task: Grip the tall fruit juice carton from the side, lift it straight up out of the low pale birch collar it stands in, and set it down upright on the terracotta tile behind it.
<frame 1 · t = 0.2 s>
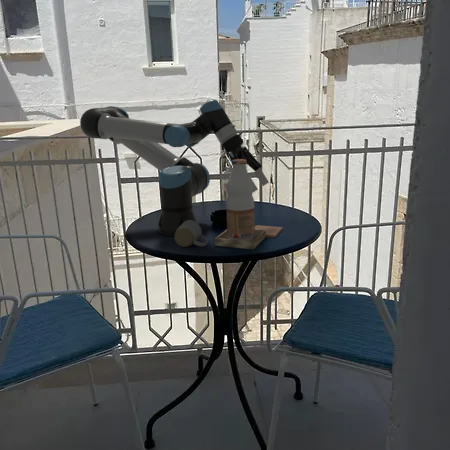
hand: (260, 187, 169), 15 cm above the table, tool tilted 35°, fingers open, 13 cm apart
ceramic mug: (192, 245, 156), on the table
fruit juice: (241, 241, 158), resting in birch collar
terracotta tile: (265, 232, 166), on the table
birch collar: (241, 241, 157), on the table
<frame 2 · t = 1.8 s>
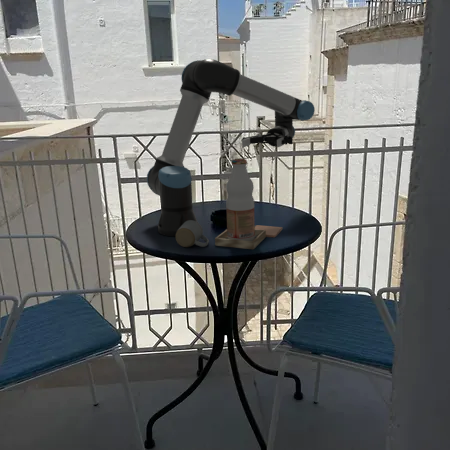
hand: (260, 143, 169), 31 cm above the table, tool horizontal, fingers open, 13 cm apart
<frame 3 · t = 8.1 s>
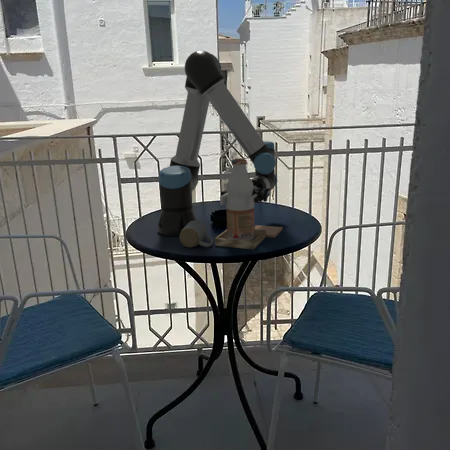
hand: (235, 201, 149), 15 cm above the table, tool horizontal, fingers closed on fruit juice, 9 cm apart
ceramic mug: (197, 245, 155), on the table
fruit juice: (241, 241, 158), resting in birch collar, touching gripper
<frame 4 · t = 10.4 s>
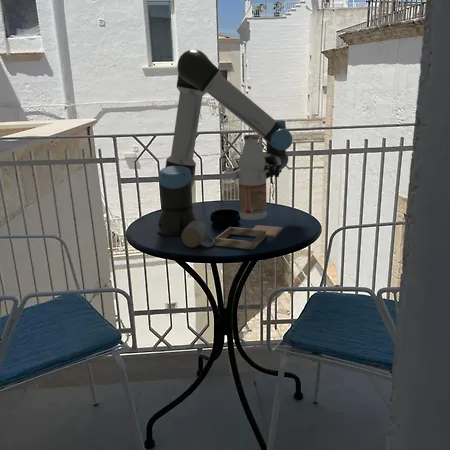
hand: (247, 176, 150), 23 cm above the table, tool horizontal, fingers closed on fruit juice, 9 cm apart
fruit juice: (253, 217, 159), point 7 cm above the table, touching gripper
when the fingers open (17 cm above the table, at t = 12.9 s): fruit juice stays where it is, resting on terracotta tile.
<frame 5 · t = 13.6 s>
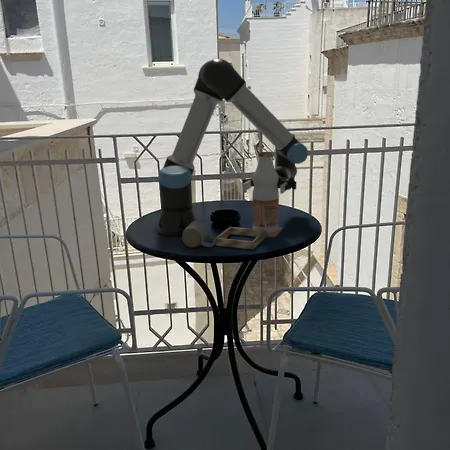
hand: (262, 188, 158), 17 cm above the table, tool horizontal, fingers open, 13 cm apart
fruit juice: (265, 230, 166), point 1 cm above the table, touching terracotta tile
everything else where it was.
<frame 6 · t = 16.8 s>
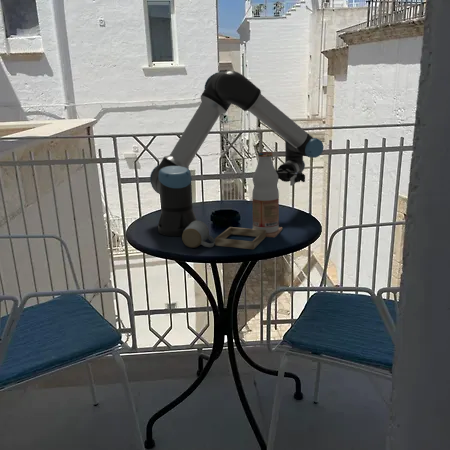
hand: (273, 181, 170), 17 cm above the table, tool horizontal, fingers open, 13 cm apart
nothing on the table moved.
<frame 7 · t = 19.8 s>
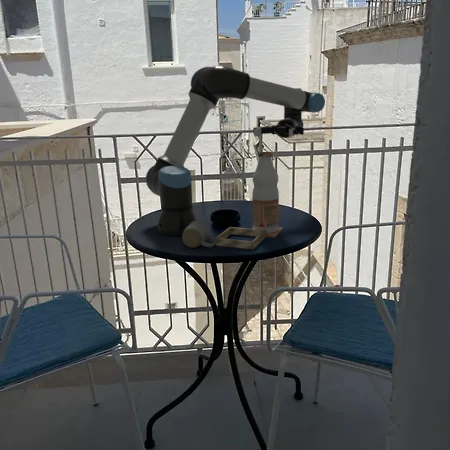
hand: (272, 133, 171), 34 cm above the table, tool horizontal, fingers open, 13 cm apart
nothing on the table moved.
at the end: fruit juice 0.1 cm from the terracotta tile (horizontally); fruit juice tilted 0°; fruit juice point 0.6 cm above the table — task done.
